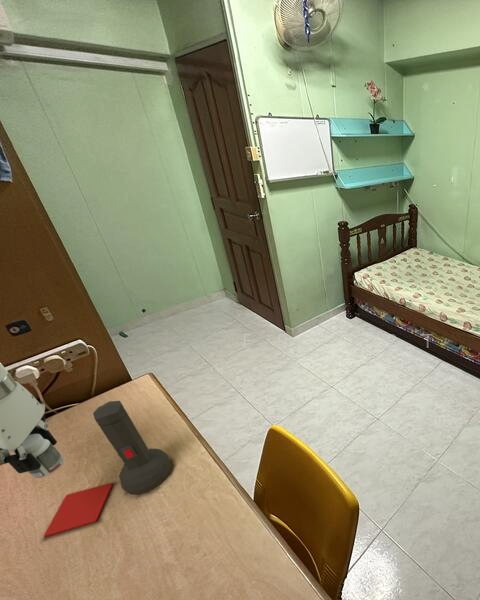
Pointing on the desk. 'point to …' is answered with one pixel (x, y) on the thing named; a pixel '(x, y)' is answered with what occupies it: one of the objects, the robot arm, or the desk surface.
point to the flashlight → (132, 450)
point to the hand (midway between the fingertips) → (38, 456)
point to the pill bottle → (42, 455)
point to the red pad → (79, 509)
